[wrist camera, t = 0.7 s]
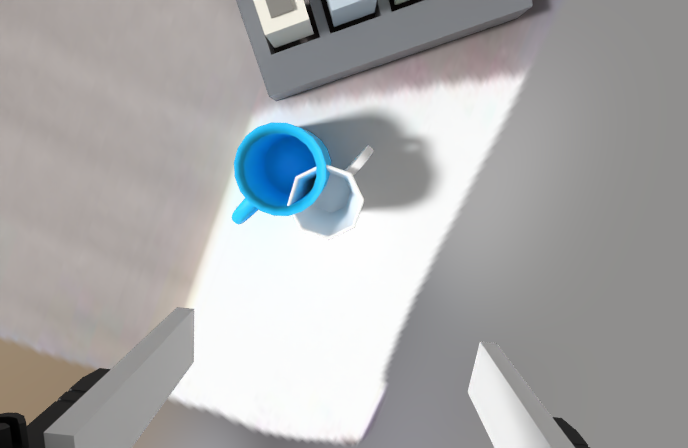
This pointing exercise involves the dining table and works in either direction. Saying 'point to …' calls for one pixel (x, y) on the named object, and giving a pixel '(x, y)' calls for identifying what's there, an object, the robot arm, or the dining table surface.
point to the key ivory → (283, 20)
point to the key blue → (349, 10)
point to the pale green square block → (399, 1)
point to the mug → (278, 169)
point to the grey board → (369, 39)
